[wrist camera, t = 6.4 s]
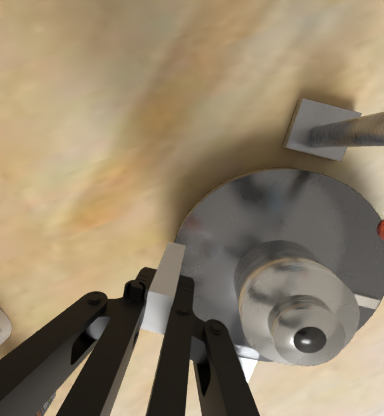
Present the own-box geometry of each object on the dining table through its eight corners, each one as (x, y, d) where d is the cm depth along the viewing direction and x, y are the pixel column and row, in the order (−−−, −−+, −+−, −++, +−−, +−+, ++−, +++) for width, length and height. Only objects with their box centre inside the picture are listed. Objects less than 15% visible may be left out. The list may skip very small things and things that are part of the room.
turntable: (198, 143, 19) (193, 139, 12) (416, 198, 19) (542, 227, 12) (147, 353, 26) (125, 431, 18) (308, 394, 26) (348, 487, 18)
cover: (249, 229, 19) (272, 270, 12) (337, 254, 19) (403, 307, 12) (222, 303, 21) (229, 369, 15) (300, 324, 21) (341, 400, 15)
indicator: (298, 100, 19) (532, -26, 5) (353, 115, 19) (728, 25, 5) (267, 187, 21) (379, 255, 7) (317, 200, 21) (518, 291, 7)
